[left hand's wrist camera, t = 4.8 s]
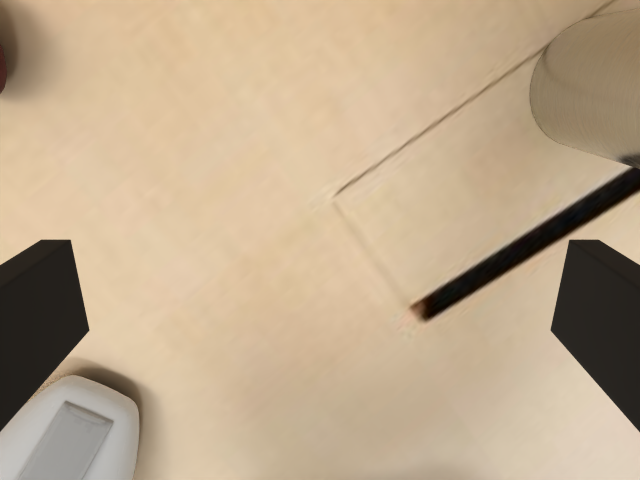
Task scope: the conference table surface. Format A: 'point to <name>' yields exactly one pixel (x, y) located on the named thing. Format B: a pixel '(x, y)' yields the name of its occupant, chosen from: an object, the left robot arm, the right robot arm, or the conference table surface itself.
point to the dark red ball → (2, 70)
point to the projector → (72, 434)
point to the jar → (592, 87)
